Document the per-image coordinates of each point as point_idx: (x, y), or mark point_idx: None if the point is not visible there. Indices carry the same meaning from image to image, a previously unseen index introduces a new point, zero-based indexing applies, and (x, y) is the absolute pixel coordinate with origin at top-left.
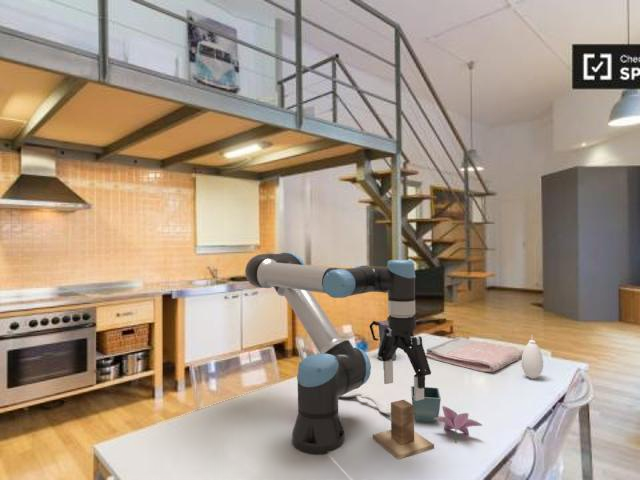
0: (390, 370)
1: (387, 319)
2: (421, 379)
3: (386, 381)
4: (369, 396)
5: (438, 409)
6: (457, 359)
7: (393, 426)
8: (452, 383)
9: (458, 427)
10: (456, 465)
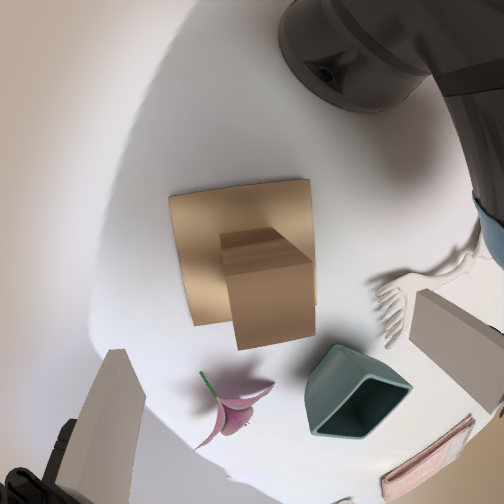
0: (459, 363)
1: None
2: (51, 474)
3: (425, 303)
4: (460, 272)
5: (306, 407)
6: (433, 452)
7: (267, 238)
8: (403, 436)
9: (218, 409)
10: (121, 326)
